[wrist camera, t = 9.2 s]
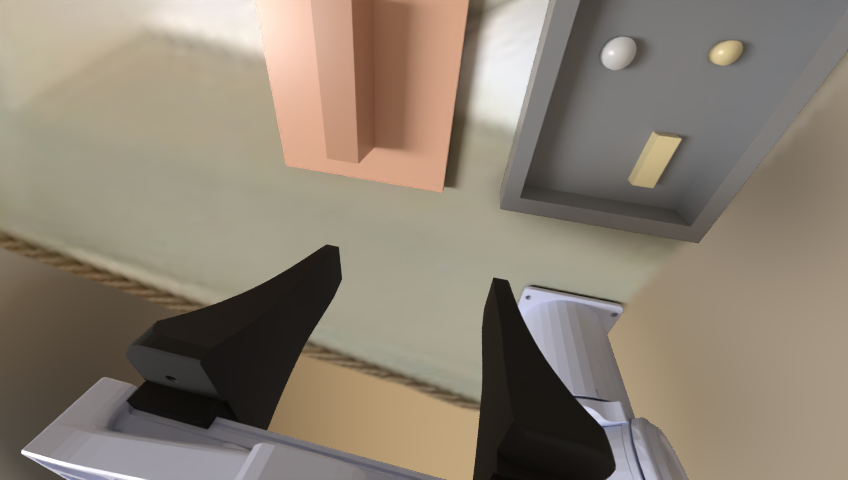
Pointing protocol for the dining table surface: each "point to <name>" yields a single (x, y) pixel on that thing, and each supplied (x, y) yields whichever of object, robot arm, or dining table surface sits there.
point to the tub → (663, 106)
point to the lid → (365, 85)
